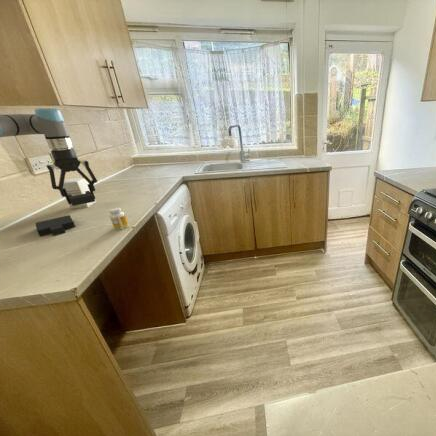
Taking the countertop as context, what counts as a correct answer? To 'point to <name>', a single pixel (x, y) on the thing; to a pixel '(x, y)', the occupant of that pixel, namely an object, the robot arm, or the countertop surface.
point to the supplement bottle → (118, 219)
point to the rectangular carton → (77, 190)
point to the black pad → (81, 198)
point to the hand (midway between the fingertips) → (82, 200)
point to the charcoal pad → (55, 225)
